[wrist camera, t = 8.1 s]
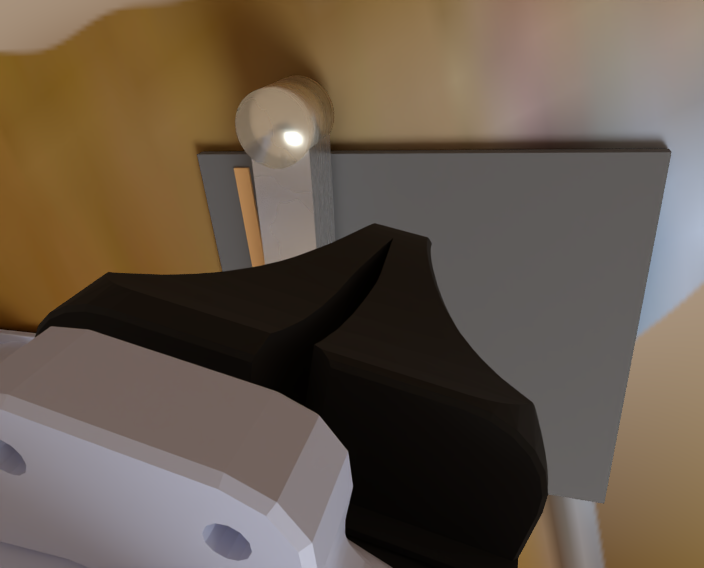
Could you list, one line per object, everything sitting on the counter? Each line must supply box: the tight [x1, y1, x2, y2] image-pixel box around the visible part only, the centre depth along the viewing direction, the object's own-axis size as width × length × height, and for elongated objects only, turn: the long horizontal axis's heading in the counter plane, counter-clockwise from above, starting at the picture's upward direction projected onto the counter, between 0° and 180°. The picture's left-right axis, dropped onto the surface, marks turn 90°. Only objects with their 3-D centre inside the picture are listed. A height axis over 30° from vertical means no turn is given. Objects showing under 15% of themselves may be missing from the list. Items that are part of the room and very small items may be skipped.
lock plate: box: [197, 149, 671, 503], centre depth 22 cm, size 16×15×1 cm
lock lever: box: [235, 75, 336, 264], centre depth 20 cm, size 14×4×2 cm, turn 3°
